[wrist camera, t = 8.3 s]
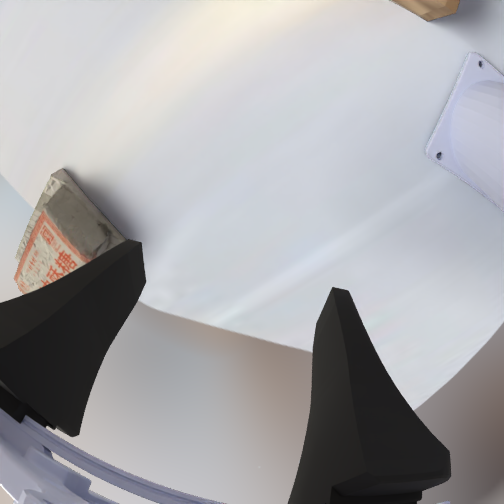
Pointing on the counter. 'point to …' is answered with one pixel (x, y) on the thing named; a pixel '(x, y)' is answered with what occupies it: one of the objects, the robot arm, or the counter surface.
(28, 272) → the packaged product
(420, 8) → the carton
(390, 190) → the counter surface
